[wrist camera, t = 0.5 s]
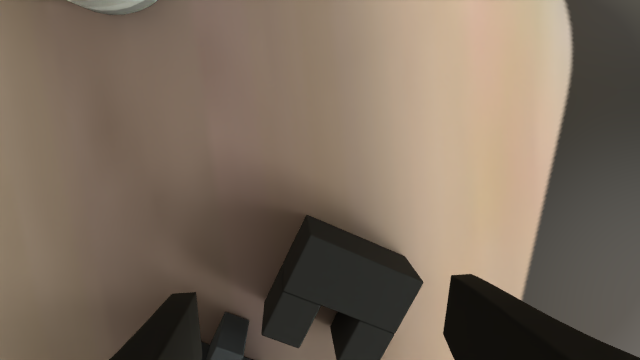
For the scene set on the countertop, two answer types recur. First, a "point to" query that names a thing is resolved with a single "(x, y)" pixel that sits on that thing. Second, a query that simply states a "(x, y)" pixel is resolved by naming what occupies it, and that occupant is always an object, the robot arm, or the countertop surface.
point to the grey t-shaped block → (227, 340)
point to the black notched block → (340, 291)
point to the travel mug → (114, 5)
